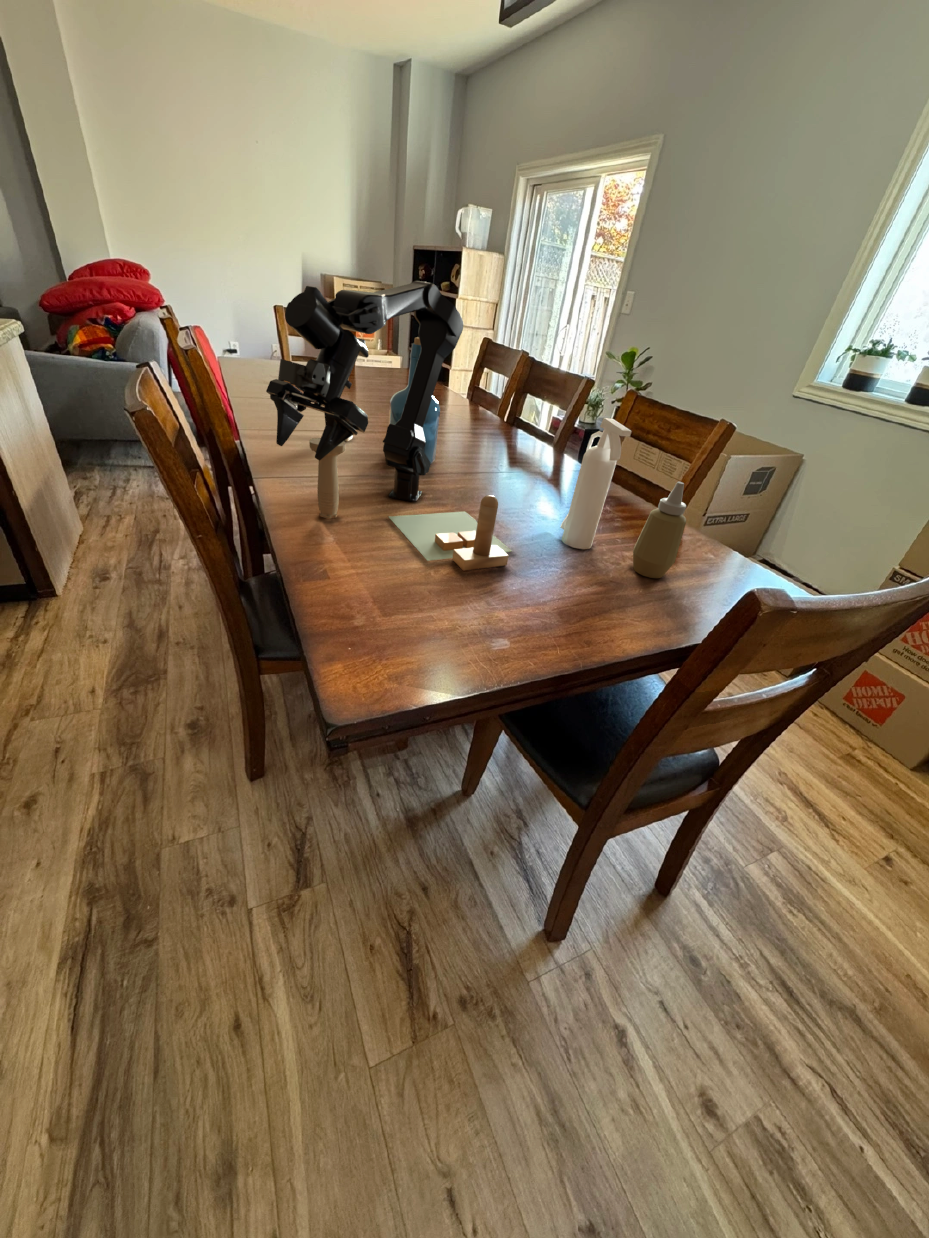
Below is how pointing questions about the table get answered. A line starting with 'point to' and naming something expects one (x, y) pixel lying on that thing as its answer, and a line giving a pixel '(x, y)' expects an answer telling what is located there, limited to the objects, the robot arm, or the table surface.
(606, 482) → the white spray bottle
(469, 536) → the block
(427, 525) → the mat
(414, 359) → the blue bottle
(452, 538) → the block
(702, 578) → the table surface
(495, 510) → the rubber stamp
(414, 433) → the robot arm
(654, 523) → the squeeze bottle
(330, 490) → the handle
